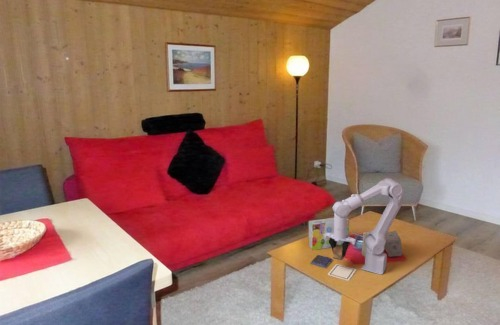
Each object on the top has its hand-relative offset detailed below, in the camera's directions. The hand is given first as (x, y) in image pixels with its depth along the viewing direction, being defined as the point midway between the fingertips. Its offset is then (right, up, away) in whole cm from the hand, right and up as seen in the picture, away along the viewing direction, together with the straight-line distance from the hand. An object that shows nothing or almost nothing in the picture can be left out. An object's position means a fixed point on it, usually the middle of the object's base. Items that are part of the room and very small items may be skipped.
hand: (339, 254), depth 173 cm
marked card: (+1, -8, 0) cm, 9 cm away
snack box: (+1, -2, +27) cm, 27 cm away
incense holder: (+31, -4, +17) cm, 36 cm away
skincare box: (+19, -4, +16) cm, 25 cm away
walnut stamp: (0, -1, 0) cm, 1 cm away
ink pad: (-6, -6, +10) cm, 13 cm away
